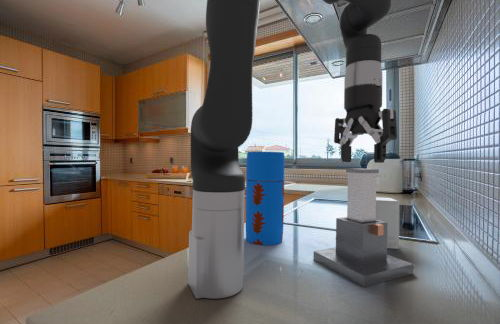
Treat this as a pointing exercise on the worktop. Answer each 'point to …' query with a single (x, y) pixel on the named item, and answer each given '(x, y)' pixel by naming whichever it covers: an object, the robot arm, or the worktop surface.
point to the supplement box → (389, 219)
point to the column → (361, 195)
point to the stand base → (362, 254)
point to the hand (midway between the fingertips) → (361, 162)
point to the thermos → (264, 197)
